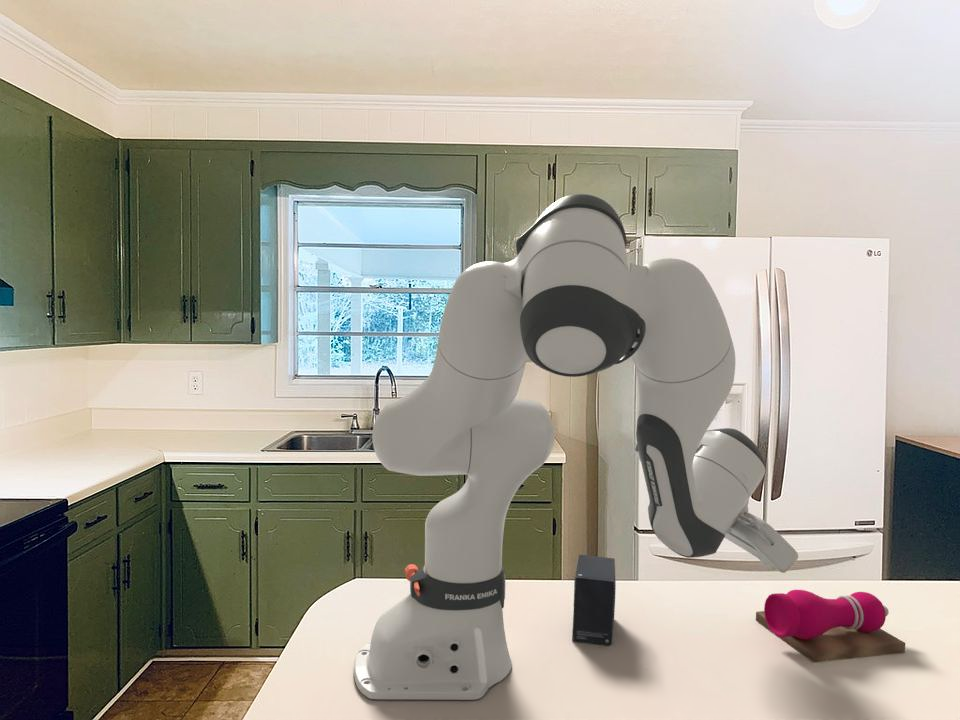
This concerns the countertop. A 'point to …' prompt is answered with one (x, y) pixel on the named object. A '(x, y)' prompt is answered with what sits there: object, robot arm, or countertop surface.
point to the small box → (594, 600)
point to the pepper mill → (822, 613)
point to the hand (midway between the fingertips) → (772, 563)
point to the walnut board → (842, 643)
